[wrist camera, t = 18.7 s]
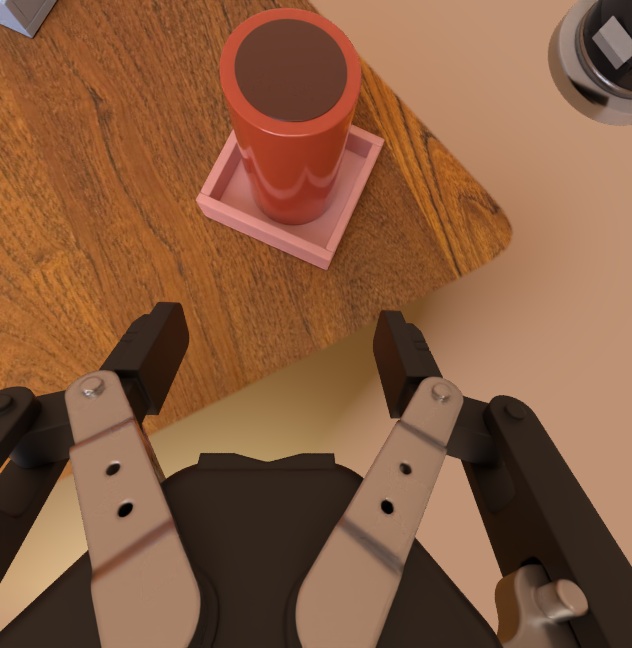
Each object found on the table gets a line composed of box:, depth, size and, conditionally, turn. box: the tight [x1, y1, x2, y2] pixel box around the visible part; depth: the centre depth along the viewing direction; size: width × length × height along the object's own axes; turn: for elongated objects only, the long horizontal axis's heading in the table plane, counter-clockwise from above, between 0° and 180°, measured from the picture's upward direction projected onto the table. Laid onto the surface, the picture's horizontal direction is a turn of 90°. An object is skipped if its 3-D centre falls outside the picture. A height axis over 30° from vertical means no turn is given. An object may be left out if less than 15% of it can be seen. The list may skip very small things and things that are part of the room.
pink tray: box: [196, 125, 384, 270], centre depth 19 cm, size 9×9×2 cm
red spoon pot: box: [219, 8, 362, 225], centre depth 16 cm, size 6×6×8 cm
